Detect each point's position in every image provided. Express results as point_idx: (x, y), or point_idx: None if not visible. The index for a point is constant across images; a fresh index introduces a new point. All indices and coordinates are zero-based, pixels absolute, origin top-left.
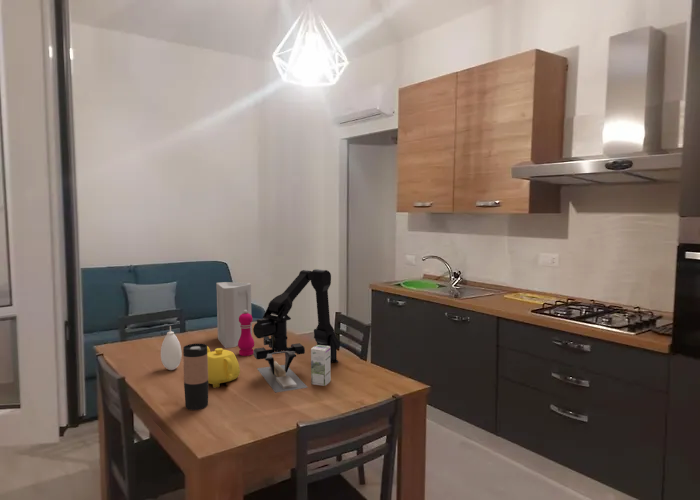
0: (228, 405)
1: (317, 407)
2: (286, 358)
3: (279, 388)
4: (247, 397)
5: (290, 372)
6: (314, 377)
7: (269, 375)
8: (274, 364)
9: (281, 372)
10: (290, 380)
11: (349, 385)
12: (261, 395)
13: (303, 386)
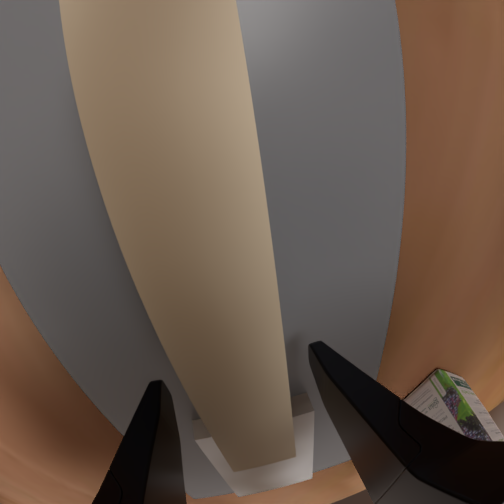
0: (38, 492)
1: (317, 497)
2: (398, 494)
3: (215, 483)
4: (71, 480)
5: (370, 267)
6: None
7: (110, 332)
8: (166, 249)
9: (254, 463)
10: (295, 460)
11: (488, 377)
12: None
13: (339, 457)
